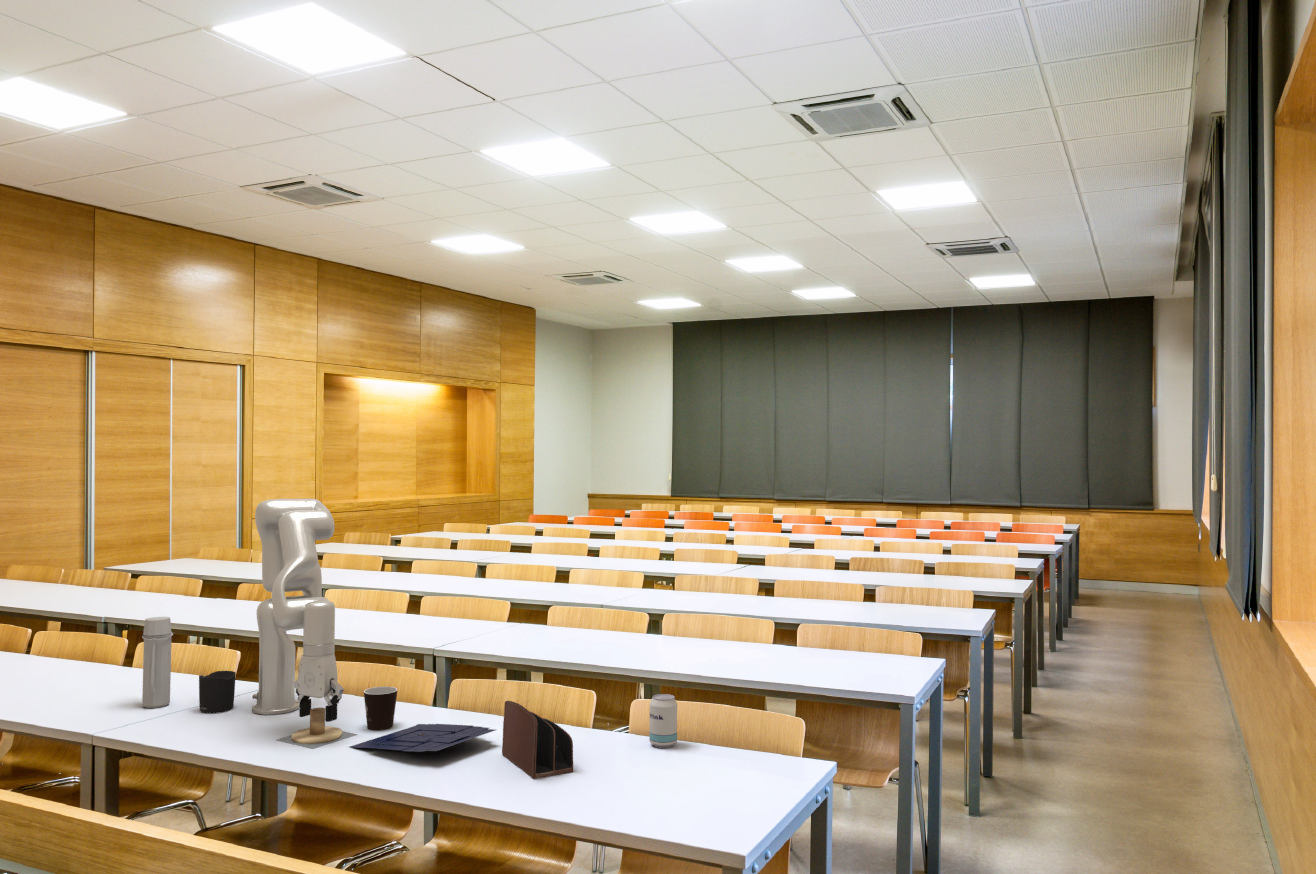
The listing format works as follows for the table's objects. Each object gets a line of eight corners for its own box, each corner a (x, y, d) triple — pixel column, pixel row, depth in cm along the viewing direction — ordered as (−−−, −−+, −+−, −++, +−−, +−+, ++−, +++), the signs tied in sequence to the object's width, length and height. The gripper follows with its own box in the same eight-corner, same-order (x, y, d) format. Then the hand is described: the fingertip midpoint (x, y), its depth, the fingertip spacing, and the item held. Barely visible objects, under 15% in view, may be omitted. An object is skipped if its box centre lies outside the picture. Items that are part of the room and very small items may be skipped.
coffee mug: (391, 733, 235) (391, 694, 235) (358, 733, 235) (358, 694, 235) (404, 721, 246) (405, 684, 247) (373, 720, 247) (373, 683, 247)
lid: (281, 739, 228) (281, 711, 228) (320, 727, 238) (320, 701, 238) (313, 747, 222) (314, 718, 222) (352, 734, 232) (352, 707, 232)
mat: (275, 741, 227) (275, 739, 227) (320, 727, 239) (320, 726, 239) (312, 750, 220) (312, 748, 220) (357, 736, 232) (357, 734, 232)
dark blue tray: (430, 765, 206) (429, 749, 207) (345, 758, 222) (344, 743, 223) (503, 739, 227) (502, 724, 227) (420, 734, 243) (419, 720, 243)
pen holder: (198, 707, 259) (199, 672, 259) (235, 704, 263) (235, 669, 263) (197, 715, 251) (198, 679, 251) (234, 712, 255) (235, 676, 255)
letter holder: (533, 780, 201) (533, 716, 201) (501, 755, 218) (502, 696, 218) (574, 772, 206) (574, 710, 206) (539, 749, 223) (540, 691, 223)
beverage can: (643, 745, 226) (644, 696, 227) (663, 739, 231) (663, 691, 232) (663, 751, 221) (663, 701, 222) (682, 745, 226) (682, 696, 227)
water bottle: (143, 703, 263) (146, 617, 264) (173, 701, 265) (175, 615, 266) (135, 711, 254) (138, 622, 255) (167, 709, 257) (169, 621, 257)
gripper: (283, 649, 232) (283, 717, 231) (330, 655, 223) (329, 726, 222) (308, 645, 238) (307, 711, 237) (354, 650, 229) (353, 719, 229)
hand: (318, 718), depth 230 cm, fingers open, 9 cm apart
